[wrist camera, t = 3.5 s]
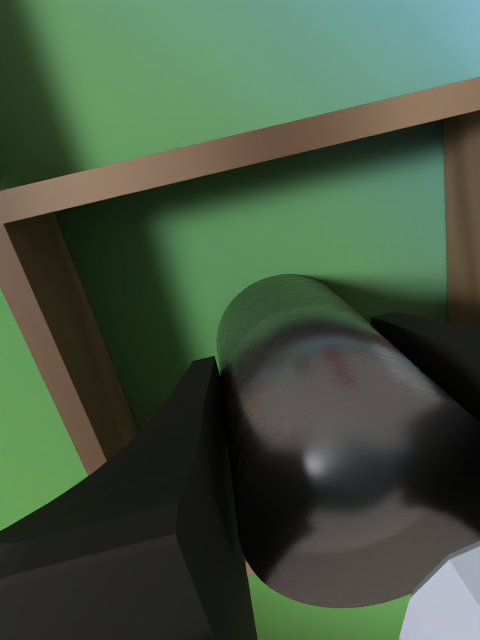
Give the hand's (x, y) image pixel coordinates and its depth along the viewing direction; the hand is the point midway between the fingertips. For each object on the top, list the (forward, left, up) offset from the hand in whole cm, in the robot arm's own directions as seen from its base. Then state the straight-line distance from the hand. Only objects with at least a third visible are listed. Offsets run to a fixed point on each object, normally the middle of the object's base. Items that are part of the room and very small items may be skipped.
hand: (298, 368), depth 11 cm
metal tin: (0, 0, -2) cm, 2 cm away
